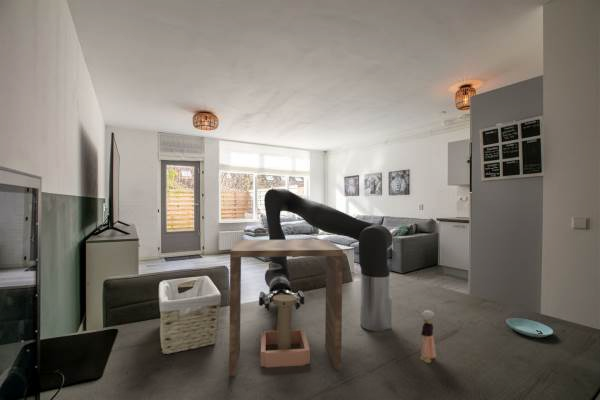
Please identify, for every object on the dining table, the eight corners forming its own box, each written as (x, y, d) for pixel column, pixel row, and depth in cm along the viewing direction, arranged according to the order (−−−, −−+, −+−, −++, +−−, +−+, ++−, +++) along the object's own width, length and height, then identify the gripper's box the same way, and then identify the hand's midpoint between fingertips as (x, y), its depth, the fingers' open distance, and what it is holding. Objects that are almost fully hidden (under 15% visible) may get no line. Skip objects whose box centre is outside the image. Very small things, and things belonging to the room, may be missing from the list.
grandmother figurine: (433, 366, 72) (434, 316, 72) (417, 362, 74) (418, 313, 74) (437, 353, 79) (438, 307, 79) (422, 349, 81) (423, 304, 81)
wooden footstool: (326, 335, 88) (327, 239, 88) (341, 369, 71) (342, 249, 70) (236, 339, 85) (237, 240, 85) (229, 376, 67) (230, 250, 67)
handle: (295, 358, 76) (296, 301, 75) (270, 357, 76) (271, 300, 76) (296, 348, 80) (296, 295, 80) (273, 347, 80) (273, 294, 80)
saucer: (553, 331, 93) (553, 324, 93) (553, 345, 84) (553, 337, 84) (508, 321, 100) (508, 315, 100) (504, 333, 92) (504, 326, 92)
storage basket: (158, 323, 96) (158, 279, 96) (208, 315, 103) (208, 274, 103) (158, 359, 74) (159, 302, 74) (222, 346, 81) (222, 294, 81)
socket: (303, 340, 85) (303, 328, 85) (310, 364, 72) (310, 350, 72) (261, 342, 83) (261, 330, 83) (260, 367, 71) (260, 353, 71)
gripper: (259, 279, 100) (258, 294, 84) (300, 278, 102) (306, 293, 86) (259, 300, 100) (258, 320, 84) (299, 299, 102) (306, 318, 86)
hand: (282, 306), depth 85 cm, fingers open, 8 cm apart
